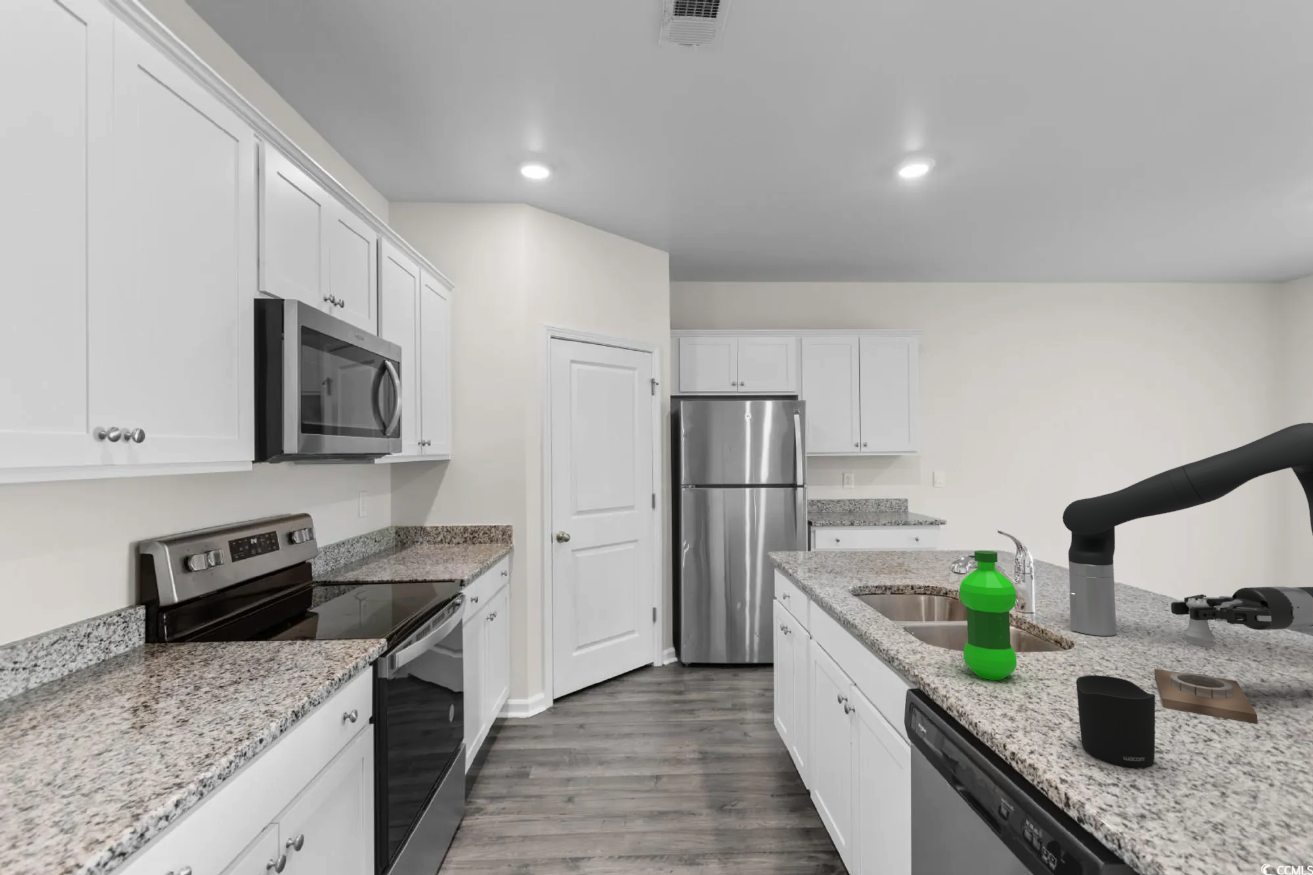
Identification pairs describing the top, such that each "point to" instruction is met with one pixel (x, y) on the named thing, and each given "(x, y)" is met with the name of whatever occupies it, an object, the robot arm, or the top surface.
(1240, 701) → the ring plate
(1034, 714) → the top surface
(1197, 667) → the top surface
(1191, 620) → the rook chess piece
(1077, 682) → the pen holder
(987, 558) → the plastic bottle
